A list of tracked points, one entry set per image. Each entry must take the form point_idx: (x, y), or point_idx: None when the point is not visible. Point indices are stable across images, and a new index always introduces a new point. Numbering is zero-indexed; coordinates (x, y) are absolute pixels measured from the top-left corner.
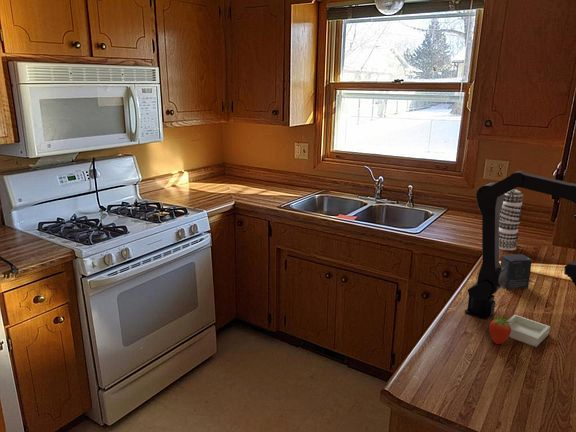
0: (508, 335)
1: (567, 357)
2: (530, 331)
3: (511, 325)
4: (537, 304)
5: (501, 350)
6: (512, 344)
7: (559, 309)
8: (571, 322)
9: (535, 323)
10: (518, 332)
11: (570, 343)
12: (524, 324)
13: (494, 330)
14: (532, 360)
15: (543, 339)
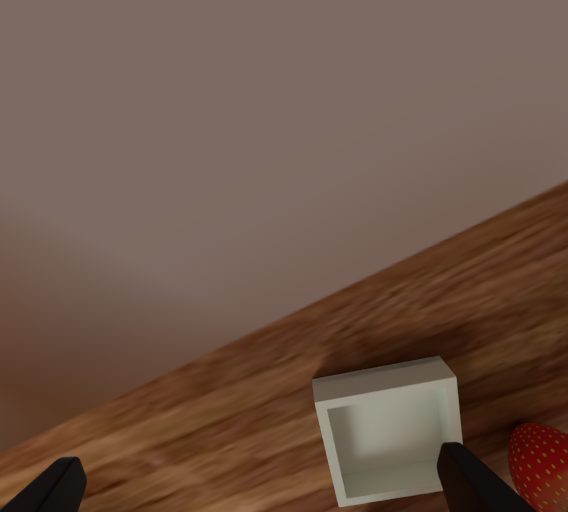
0: (565, 438)
1: (417, 266)
2: (363, 418)
3: (379, 468)
4: (130, 503)
5: (555, 399)
6: (486, 402)
7: (89, 451)
8: (144, 384)
9: (333, 439)
10: (461, 433)
11: (305, 309)
12: (337, 452)
13: None
14: (539, 317)
15: (368, 369)
